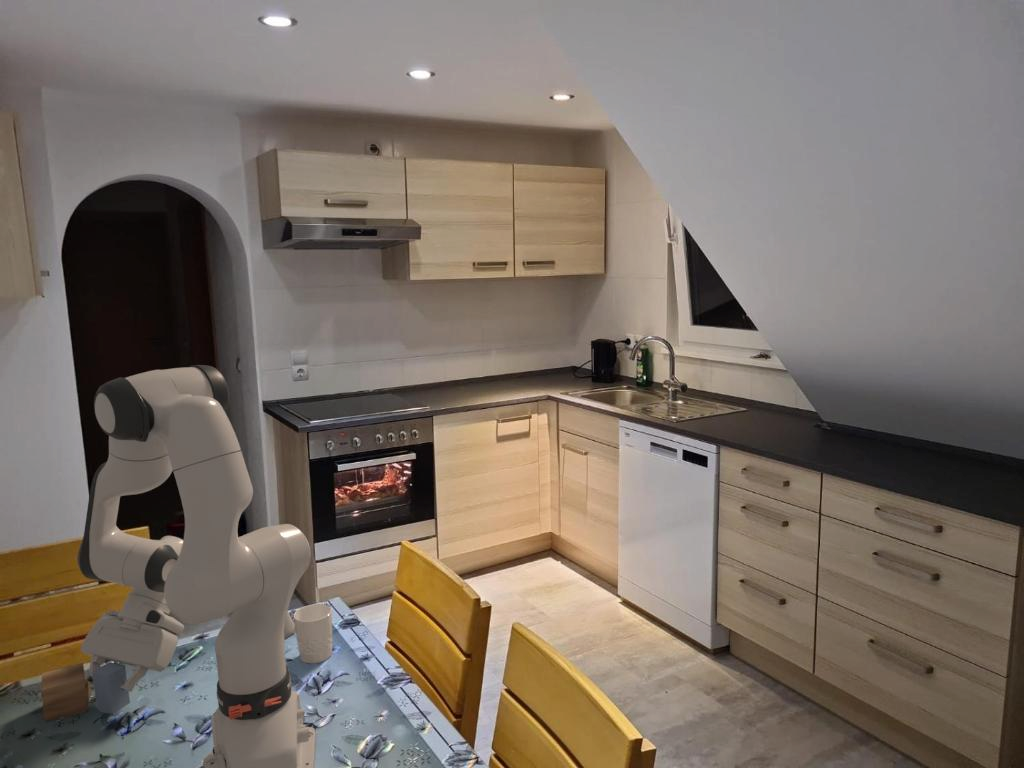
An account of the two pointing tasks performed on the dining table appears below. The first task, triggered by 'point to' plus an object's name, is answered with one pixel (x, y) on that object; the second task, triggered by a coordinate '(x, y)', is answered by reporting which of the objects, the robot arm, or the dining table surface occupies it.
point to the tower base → (68, 706)
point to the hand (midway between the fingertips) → (108, 686)
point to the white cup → (314, 632)
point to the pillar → (110, 688)
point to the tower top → (63, 685)
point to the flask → (289, 626)
